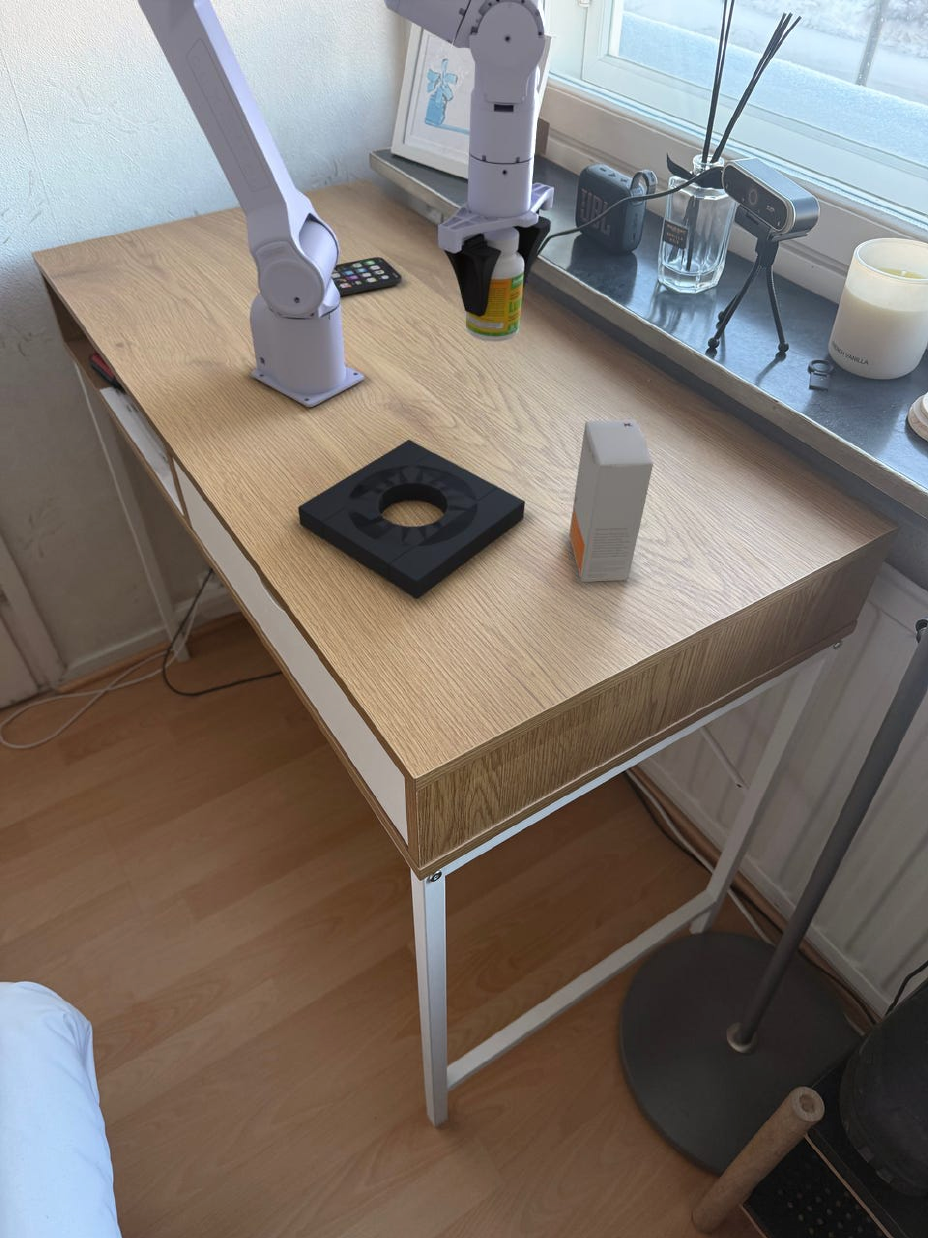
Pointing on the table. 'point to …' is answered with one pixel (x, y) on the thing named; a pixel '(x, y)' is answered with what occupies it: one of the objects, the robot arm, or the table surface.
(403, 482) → the socket pad
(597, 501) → the cosmetic box
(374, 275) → the smartphone
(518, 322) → the supplement bottle
